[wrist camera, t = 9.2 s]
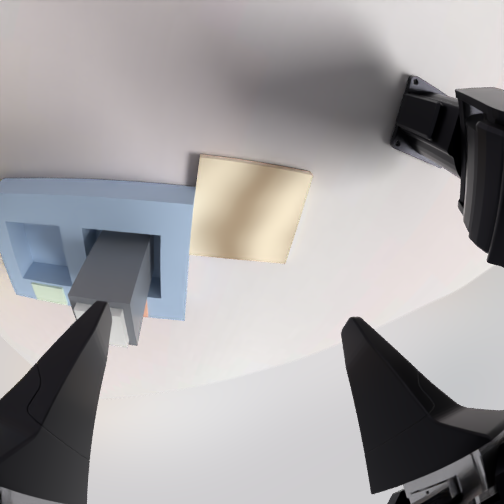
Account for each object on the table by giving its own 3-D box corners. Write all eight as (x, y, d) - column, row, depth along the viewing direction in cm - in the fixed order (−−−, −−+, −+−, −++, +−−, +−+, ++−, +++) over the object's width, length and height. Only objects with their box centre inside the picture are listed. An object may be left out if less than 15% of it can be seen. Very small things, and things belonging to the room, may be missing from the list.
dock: (196, 186, 19) (192, 206, 17) (186, 298, 26) (184, 324, 23) (4, 178, 16) (-17, 194, 13) (28, 277, 22) (16, 297, 19)
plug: (153, 227, 20) (127, 312, 13) (154, 268, 23) (136, 353, 16) (106, 223, 20) (64, 302, 13) (110, 263, 22) (80, 344, 15)
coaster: (309, 171, 20) (313, 175, 19) (283, 258, 24) (285, 263, 23) (200, 154, 18) (199, 157, 17) (189, 249, 22) (188, 254, 22)
